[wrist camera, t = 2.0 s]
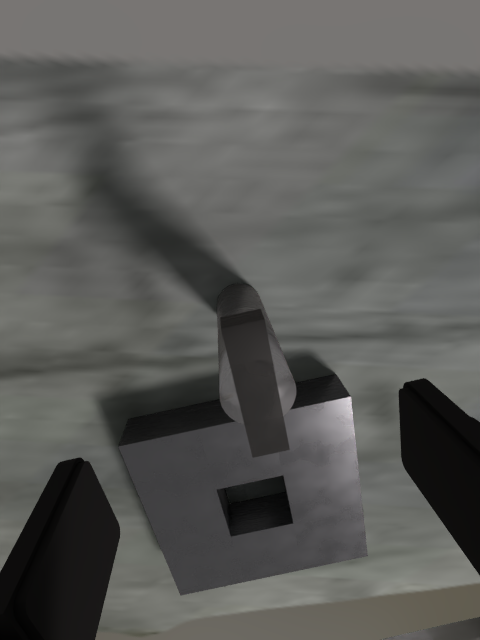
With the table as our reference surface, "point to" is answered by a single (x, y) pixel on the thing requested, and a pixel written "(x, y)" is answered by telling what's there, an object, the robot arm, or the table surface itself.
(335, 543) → the block
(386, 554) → the table surface
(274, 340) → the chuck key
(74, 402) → the table surface
